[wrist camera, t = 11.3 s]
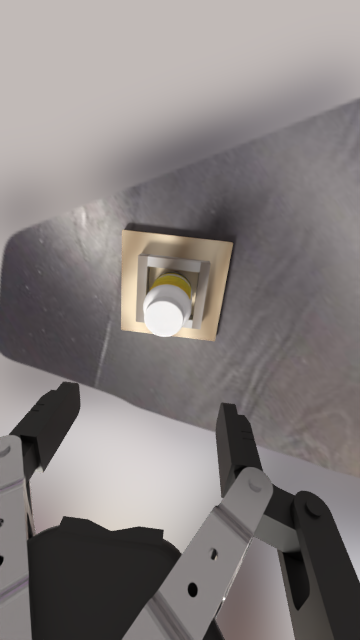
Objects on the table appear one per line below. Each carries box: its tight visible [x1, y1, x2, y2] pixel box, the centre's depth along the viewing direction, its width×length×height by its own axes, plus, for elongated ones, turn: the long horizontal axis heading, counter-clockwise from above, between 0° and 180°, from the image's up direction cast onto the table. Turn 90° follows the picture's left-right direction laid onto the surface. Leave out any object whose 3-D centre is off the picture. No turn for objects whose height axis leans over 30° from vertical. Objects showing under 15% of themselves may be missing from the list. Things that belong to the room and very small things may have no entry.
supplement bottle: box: [143, 272, 192, 337], centre depth 28 cm, size 5×5×10 cm
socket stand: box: [121, 230, 233, 341], centre depth 32 cm, size 14×14×3 cm
